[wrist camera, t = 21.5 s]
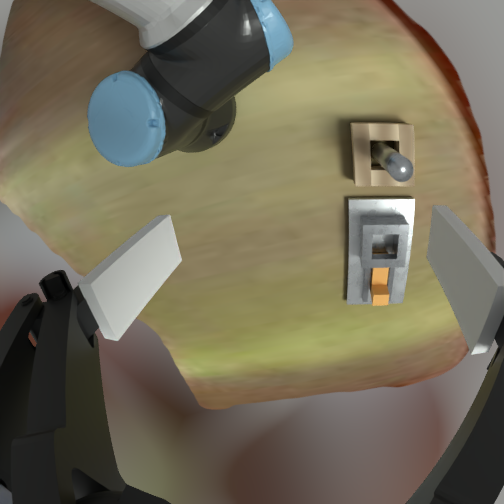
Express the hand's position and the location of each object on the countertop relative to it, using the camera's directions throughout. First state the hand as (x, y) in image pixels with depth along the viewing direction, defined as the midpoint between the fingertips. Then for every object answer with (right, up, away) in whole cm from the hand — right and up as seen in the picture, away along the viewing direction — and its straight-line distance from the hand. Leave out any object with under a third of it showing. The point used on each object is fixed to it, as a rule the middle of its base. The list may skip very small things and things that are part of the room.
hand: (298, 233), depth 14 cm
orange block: (+22, -5, +38) cm, 44 cm away
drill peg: (+19, +16, +29) cm, 38 cm away
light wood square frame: (+19, +16, +29) cm, 38 cm away
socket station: (+22, -1, +38) cm, 44 cm away
